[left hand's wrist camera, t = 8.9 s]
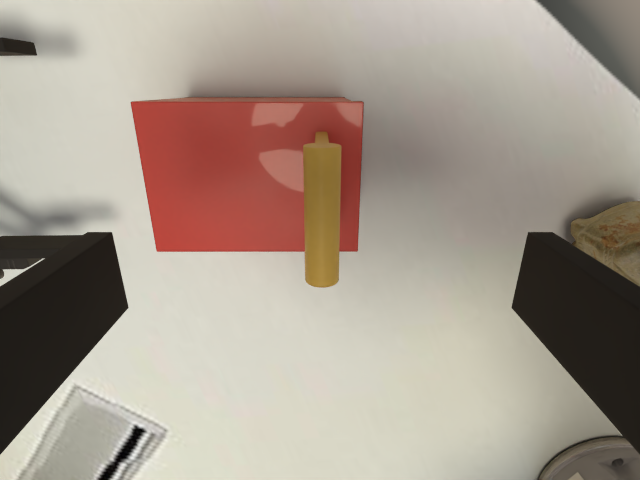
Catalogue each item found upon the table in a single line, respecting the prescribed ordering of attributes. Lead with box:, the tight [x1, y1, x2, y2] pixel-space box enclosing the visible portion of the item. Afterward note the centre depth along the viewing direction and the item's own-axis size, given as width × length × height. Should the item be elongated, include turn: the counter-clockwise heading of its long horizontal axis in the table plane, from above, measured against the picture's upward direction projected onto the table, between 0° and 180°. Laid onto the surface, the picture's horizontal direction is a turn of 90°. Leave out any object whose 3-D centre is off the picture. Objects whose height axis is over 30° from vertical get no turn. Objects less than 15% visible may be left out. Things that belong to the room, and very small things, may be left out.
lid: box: [131, 101, 364, 287], centre depth 20 cm, size 13×9×9 cm
